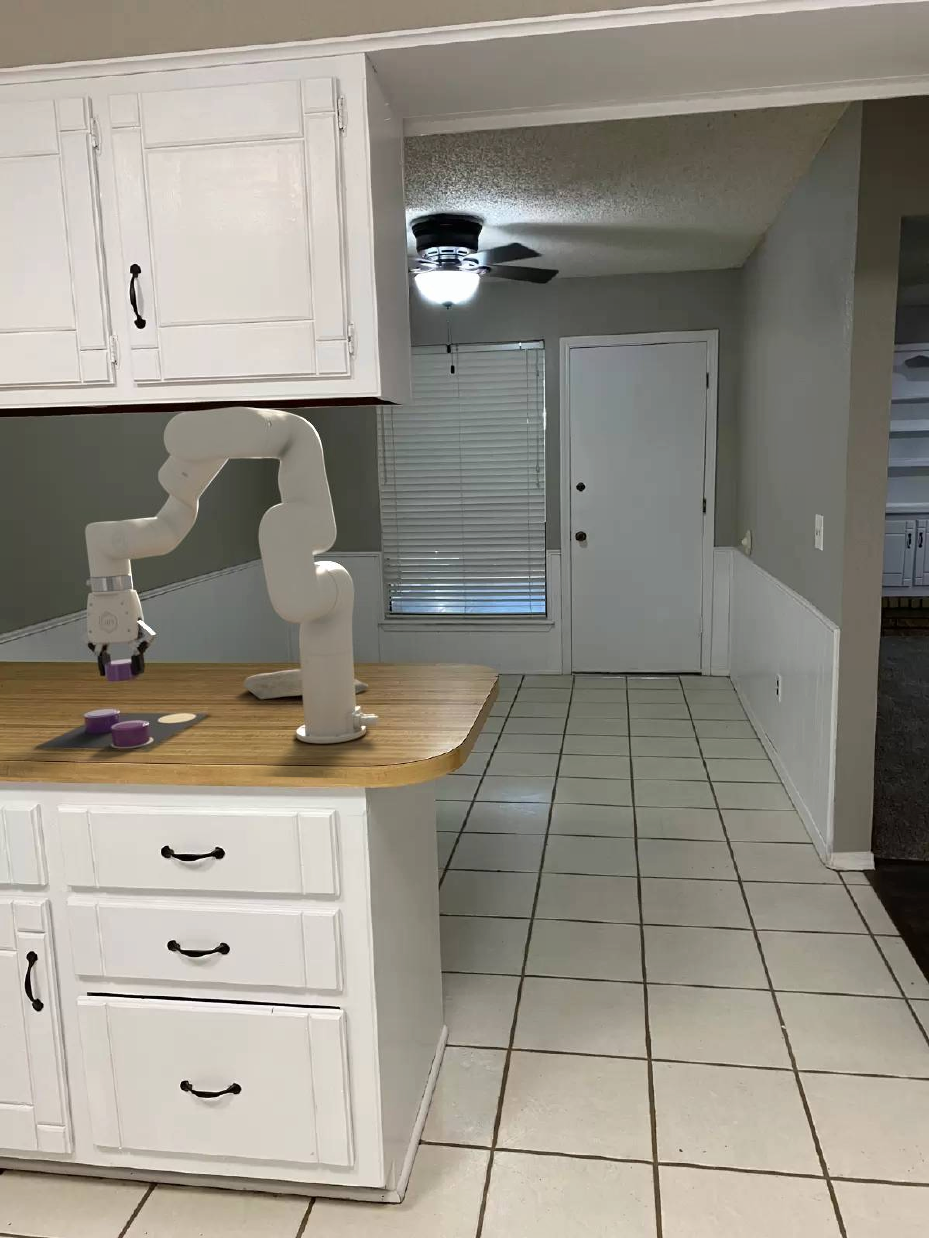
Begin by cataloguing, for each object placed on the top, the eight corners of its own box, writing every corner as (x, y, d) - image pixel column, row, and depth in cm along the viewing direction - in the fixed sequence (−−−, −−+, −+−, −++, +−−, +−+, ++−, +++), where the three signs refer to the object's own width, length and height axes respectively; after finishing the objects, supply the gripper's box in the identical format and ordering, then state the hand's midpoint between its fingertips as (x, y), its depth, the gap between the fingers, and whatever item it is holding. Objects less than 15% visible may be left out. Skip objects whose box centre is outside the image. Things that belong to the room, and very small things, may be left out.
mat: (209, 715, 182) (209, 713, 182) (146, 751, 159) (146, 748, 158) (110, 714, 186) (110, 712, 186) (35, 749, 163) (35, 746, 163)
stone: (225, 679, 197) (265, 667, 211) (231, 712, 198) (270, 697, 211) (333, 668, 186) (367, 655, 200) (339, 702, 187) (373, 687, 201)
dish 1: (127, 724, 176) (125, 708, 175) (108, 734, 169) (107, 717, 169) (97, 724, 177) (96, 708, 176) (78, 733, 171) (76, 716, 170)
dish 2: (146, 674, 182) (144, 658, 181) (128, 681, 175) (126, 664, 175) (117, 674, 183) (115, 658, 182) (99, 681, 177) (97, 665, 176)
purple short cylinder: (156, 737, 166) (155, 719, 165) (138, 747, 159) (136, 729, 159) (125, 736, 167) (123, 719, 166) (105, 746, 161) (103, 729, 160)
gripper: (60, 588, 174) (72, 679, 177) (142, 585, 171) (152, 677, 174) (83, 584, 182) (94, 671, 184) (162, 581, 178) (172, 669, 181)
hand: (122, 673), depth 179 cm, fingers closed on dish 2, 6 cm apart
